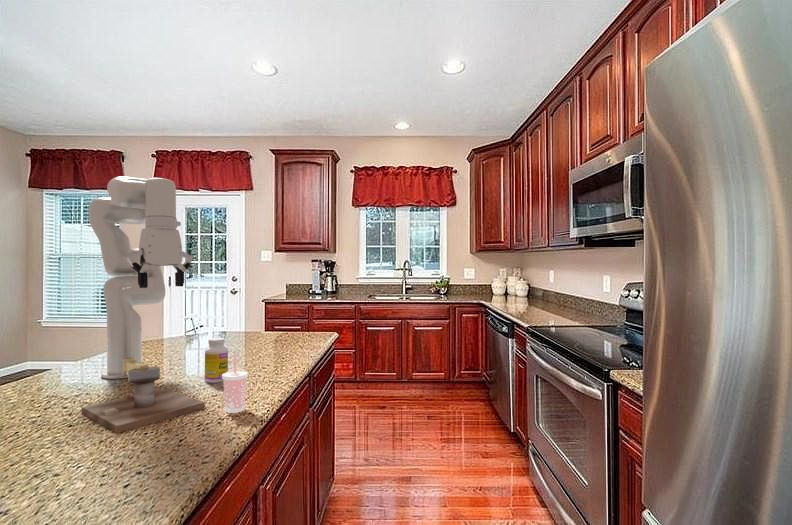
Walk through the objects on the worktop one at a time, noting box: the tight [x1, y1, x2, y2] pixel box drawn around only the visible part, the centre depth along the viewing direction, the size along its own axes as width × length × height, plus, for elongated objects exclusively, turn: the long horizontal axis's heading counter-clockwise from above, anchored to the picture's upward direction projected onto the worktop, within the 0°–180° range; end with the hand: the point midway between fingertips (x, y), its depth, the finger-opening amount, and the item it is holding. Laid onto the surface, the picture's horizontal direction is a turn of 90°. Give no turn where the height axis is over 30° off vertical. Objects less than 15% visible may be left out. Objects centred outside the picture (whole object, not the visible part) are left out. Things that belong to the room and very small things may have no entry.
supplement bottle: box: [204, 337, 229, 384], centre depth 137 cm, size 7×7×13 cm
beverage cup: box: [222, 353, 249, 414], centre depth 111 cm, size 6×6×14 cm
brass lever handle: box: [123, 358, 161, 384], centre depth 112 cm, size 13×7×4 cm, turn 53°
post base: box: [81, 381, 206, 434], centre depth 110 cm, size 20×20×7 cm
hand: (162, 287), depth 121 cm, fingers open, 9 cm apart
